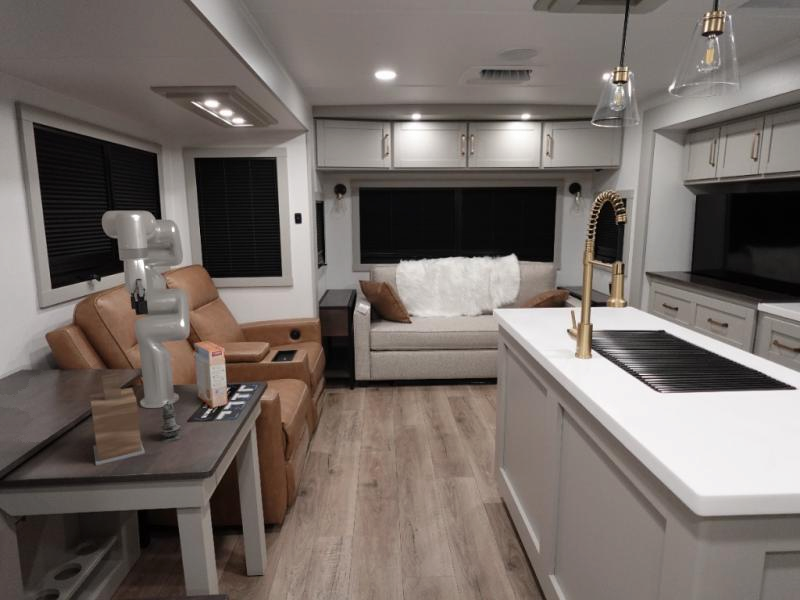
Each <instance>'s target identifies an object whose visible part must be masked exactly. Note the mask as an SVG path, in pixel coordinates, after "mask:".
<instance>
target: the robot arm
mask: <svg viewBox="0 0 800 600" xmlns="http://www.w3.org/2000/svg"><path fill="white" fill-rule="evenodd" d="M101 226H102V229H103V231H104V233H105V234H106V236H108V237H109V238H112V239H117V245H118V255H119V260H120V261H123V271H124V272H123V273H124V282H125V283H124V284H125V286H124V287H125V291H126V293H127V294H129V295H130V307H131V310H134V311H135V315H136V316H142V315H144V316H142V317H139V318H138V319H137V320H136V321H135V323H134V326H133V327H134V334H135V337H136V340H137V346H138V351H139V357H140V366H141V376H142V384H143V385H142V386H143V392H144V393H143V394H144V397H143V398H142V399H141V400H140V402H139V403H140V405H139V406H141V407H142V408H145V409H157V408H160V409H161V408H163V406H164V405H165V404H167V401H169V403H171V404H173V405H174V404H176V403H177V402H179V400H180V396H179V394H178V393H176V392H175V390H174V382H173V380H174V379H173V371H172V370H173V369H172V360H171V353H170V351H169V348H167V347H166V346H165V345H164V344H163V343H165V342H167V343H169V342H177V341H178V342H180V341H184V340H186V339H188V338H189V336H190V331H191V328H190V326H191V323H190V306H189V305H190V304H189V296H188V294H187V292H186V291H185V290H184V289H182V288H167V280H166V278H165V277H164V276H163V275H162V274H161V273H160V272H159V271H158V270H156V269H155V268H154V267H159V268H160V267H174V266H175V267H176V266H180V265H181V264H182V263H183V260H184V259H183V258H184V253H183V247H182V240H181V235H180V230H179V227H178V224H177V223H176V222H175V221H174V220H172V219H156V217H155V216H154V215H153V214H152V212H150V211H147V210H108V211H106V212H105V213H103V215H102V218H101Z"/></svg>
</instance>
